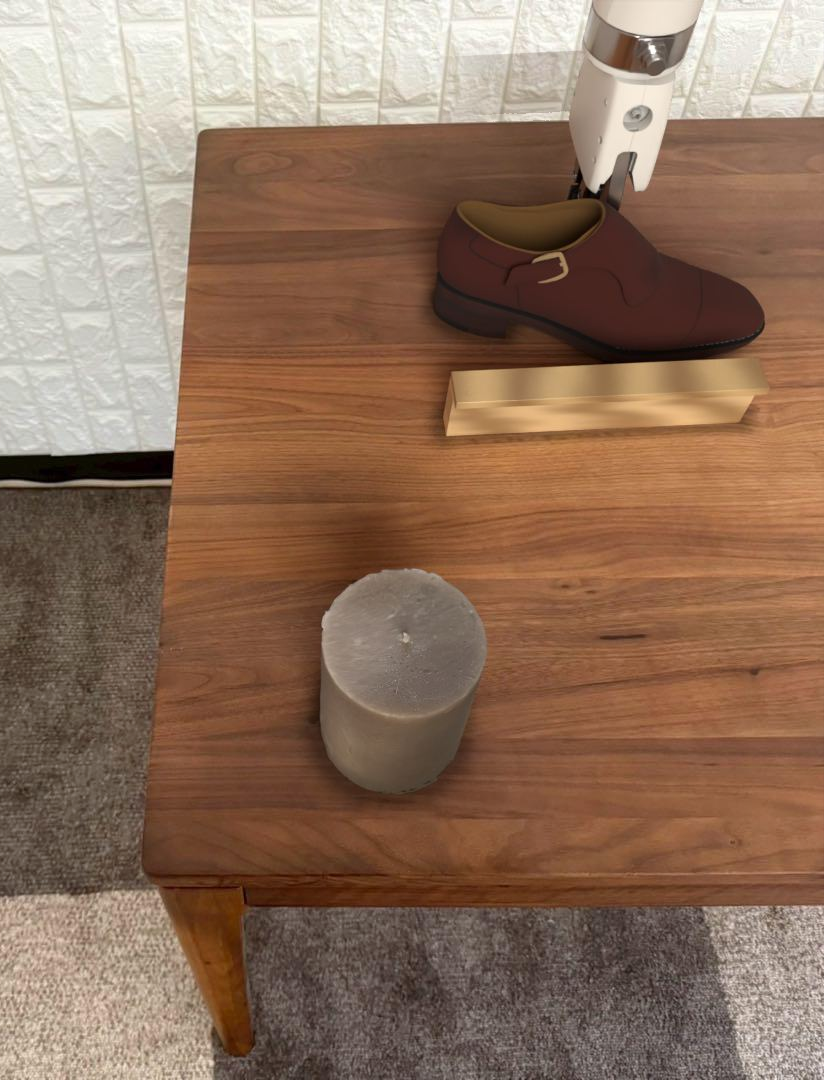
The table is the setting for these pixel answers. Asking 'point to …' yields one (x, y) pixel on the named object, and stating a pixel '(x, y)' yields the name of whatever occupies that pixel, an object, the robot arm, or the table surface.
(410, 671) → the pillar candle
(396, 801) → the table surface
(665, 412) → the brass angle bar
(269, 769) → the table surface
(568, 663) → the table surface
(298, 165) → the table surface
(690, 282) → the dress shoe
